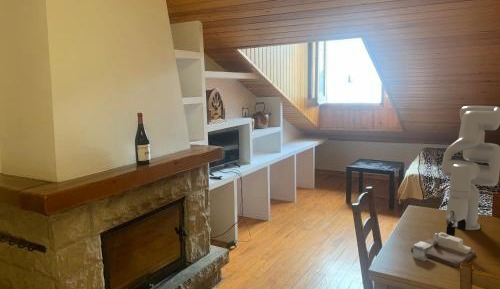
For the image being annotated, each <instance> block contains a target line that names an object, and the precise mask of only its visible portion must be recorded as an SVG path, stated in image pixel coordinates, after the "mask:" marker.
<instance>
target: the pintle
mask: <svg viewBox="0 0 500 289" xmlns="http://www.w3.org/2000/svg"><path fill="white" fill-rule="evenodd" d="M438 234H439V233H434V234H433V238H434V240H433V247H438V243H439V235H438Z"/></svg>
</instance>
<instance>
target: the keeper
mask: <svg viewBox="0 0 500 289" xmlns="http://www.w3.org/2000/svg"><path fill="white" fill-rule="evenodd" d="M423 241H424V240H423ZM423 241H422V240H419V241H418V242H416V243H414V244H413V245H412V247H413V251H412V258H413V259H416V260H420V261H422V262H426V261H427V260H428V259H427V258H428V257H427V251H428V250H430V249H432V246H433V245H432V244H429V243H426V242H423Z"/></svg>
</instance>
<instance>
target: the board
mask: <svg viewBox="0 0 500 289" xmlns="http://www.w3.org/2000/svg"><path fill="white" fill-rule="evenodd" d="M433 240H434V236H433V237H429V238H427V239H425V240H423V242H426V243H429V244H432V245H433ZM410 251H412V252H413V246H412V247H411V250H410ZM476 254H477V251H475V250H472V249H471V251H470V252H469V253H467V254H466V253H463V252H460V251H457V250H454V249H451V248H448V247H447V248H446V247H443V246H440V245H438V247H433V246H432V249H430V250H428V251H427V258H430V259H432V260H435V261H437V262H438V261H439V262H440V263H443V264H446V265H449V266H452V267H454V268H458V267H460V266H461V265H462V264H461V263H462V262H464V263H465V262H467V261H469V260H470V259H472V258H473V257H475V256H476ZM460 264H461V265H460Z"/></svg>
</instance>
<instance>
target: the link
mask: <svg viewBox="0 0 500 289" xmlns="http://www.w3.org/2000/svg"><path fill="white" fill-rule="evenodd" d="M437 234H438V235H439V243H438V245H440V246H443V247H446V248H447V247H448V248H451V249H454V250H457V251H460V252H463V253H466V254H467V253H469V252H470V251H471V250H472V247H470V246H467V245H464V244H463V243H464V239H462V238H460V237H457V236H450V235H447V234H446V232H442V231H440V232H438V233H437Z"/></svg>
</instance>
